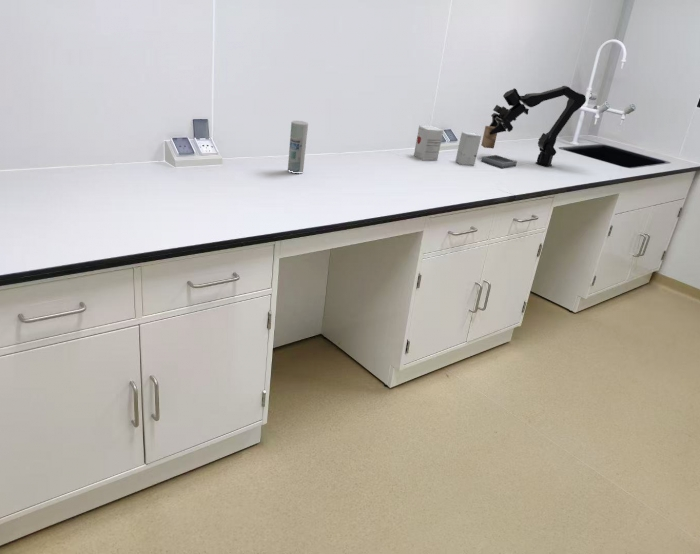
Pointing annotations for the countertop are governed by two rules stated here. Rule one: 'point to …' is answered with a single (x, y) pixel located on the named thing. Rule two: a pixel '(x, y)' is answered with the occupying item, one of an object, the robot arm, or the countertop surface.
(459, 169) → the countertop surface
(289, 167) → the spray can
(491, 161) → the grey tray
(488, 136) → the walnut block
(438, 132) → the supplement box
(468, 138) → the skincare box
